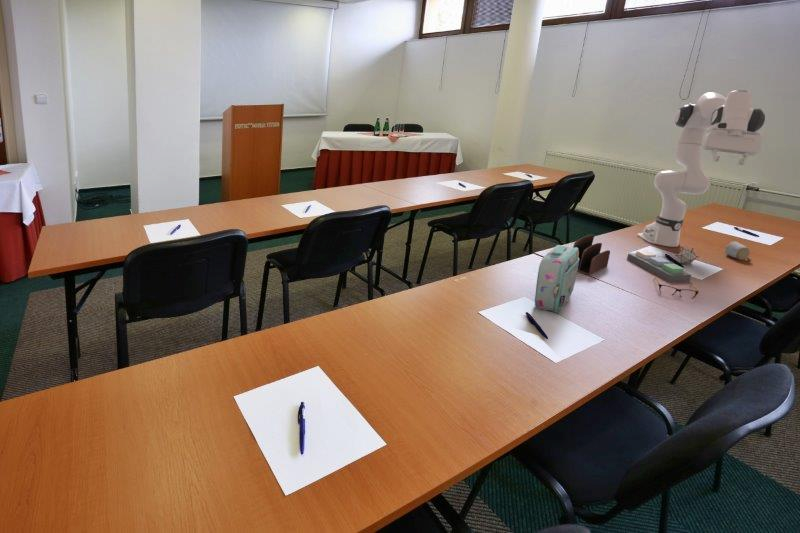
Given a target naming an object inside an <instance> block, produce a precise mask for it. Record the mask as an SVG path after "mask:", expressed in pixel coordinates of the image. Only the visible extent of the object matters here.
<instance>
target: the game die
mask: <svg viewBox="0 0 800 533" xmlns="http://www.w3.org/2000/svg"><path fill="white" fill-rule="evenodd" d="M681 248H682V249H681V250H680V251H679V253H678V254H675V255H674V256H675V257H677V259H678V260H679V262H680V263H681V264H680V265H682V264H688V265H690V266H691V265H693V264H692V263H694V261H695V260H696V259H697V258H699V256H697V255H696V253H695V252H694V248H684V247H683V246H682V247H681Z"/></svg>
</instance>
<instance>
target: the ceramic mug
mask: <svg viewBox="0 0 800 533" xmlns="http://www.w3.org/2000/svg"><path fill="white" fill-rule="evenodd" d="M750 253H751V252H750V248H748V246H746V245H744V244H742V243H740V242H738V241H731V242H729V243H728V244H727V246H726V247H725V254H726V255H727V256H729V257H732V258H734V259H736V260H739V261H741V260H743V261H744V260H746V259H750V258H751V256H750Z"/></svg>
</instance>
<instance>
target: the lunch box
mask: <svg viewBox="0 0 800 533" xmlns="http://www.w3.org/2000/svg"><path fill="white" fill-rule="evenodd" d="M578 256H579V251H578V248H577V247H575V248H573V246H565V245H561V244H557V245H556V246H554V247H553V248H552V249H551V250H550V251H549V252H547V254H545V255H544V256H543V258H542V260H541V261H540V263H539V265H538V266H539V267H538V271H537V276H536V277H537V278H536V283H535V284H536V285H535V294H534V306H535V308H536V309H539V310H545V311H550V312H554V313H556V314H559V313H561V311H563V308H564V306H565V305H566V304H567V303H568V301H569V300H570V298H571V296H572V294H573V290H574V287H575V282H576V278H577V275H578V272H577V270H578V265H579V257H578Z"/></svg>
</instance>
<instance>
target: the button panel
mask: <svg viewBox="0 0 800 533" xmlns="http://www.w3.org/2000/svg"><path fill="white" fill-rule="evenodd" d="M626 260H628V261H629V262H632V263H634V264H636V265H638V266H639V267H640V268H643V269H645V270H647V271H649V272H650V273H652V274H653V275H656V276H658V277H659V278H661V279H663V280H665V281H667V282H669V283H670V282H671V283H673V282H690V281H691V279H692V278H691V277H692V274H691V273H688V272H687V271H685V270H684V272H683V273H670V272H668V271H666V270H664V269H662V266H656V265H654V264H652V263H650V262H648V260H649V259H642V258H640V257H639V256H637V255H636V252H629V253H628V254H627V258H626Z"/></svg>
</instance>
